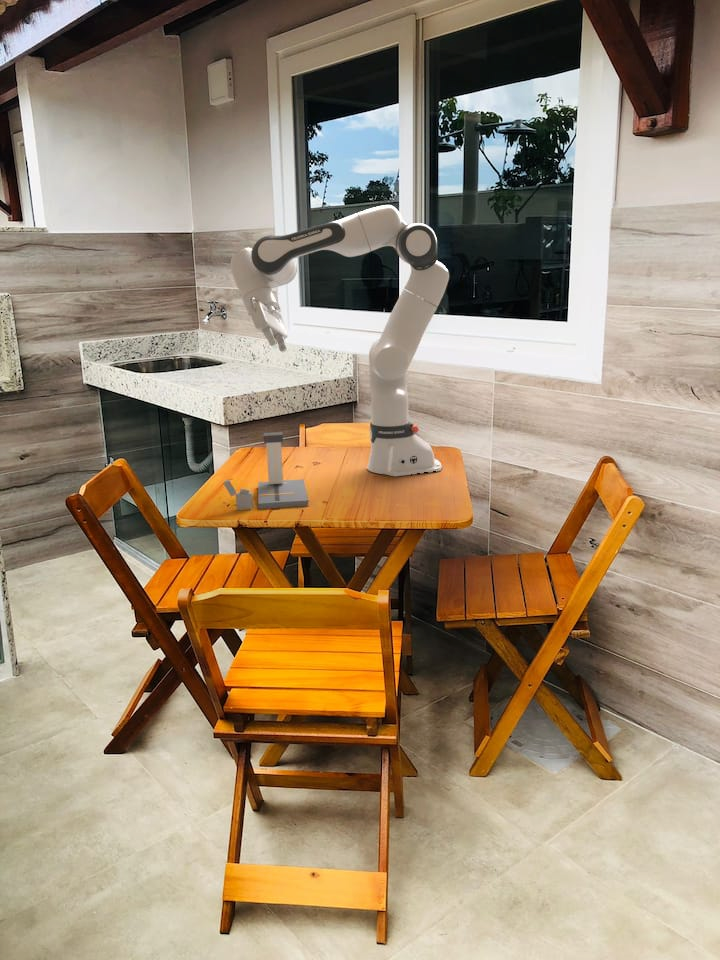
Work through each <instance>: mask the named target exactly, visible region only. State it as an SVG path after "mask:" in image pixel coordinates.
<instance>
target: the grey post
mask: <svg viewBox="0 0 720 960" xmlns="http://www.w3.org/2000/svg"><path fill="white" fill-rule="evenodd" d="M263 443H264V444H265V447H266V458H267V459H266V460H267V474H268V475H267V476H268V481H269V484H281V483H283V481H284V473H283V471H284V470H283V457H282V456H283V455H282V453H283V452H282V443H284V435H283V431H277V432H276V431H273V432H263Z"/></svg>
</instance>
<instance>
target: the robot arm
mask: <svg viewBox="0 0 720 960" xmlns="http://www.w3.org/2000/svg"><path fill="white" fill-rule="evenodd" d="M383 247H392V249H393V250H394V251H395V252H396V254H397V256H398V257H399V258H400V259H401V261H403V262H404V263H407V264H409V265H410V275H409V278H408V281H407V282H406V283H405V286H404V288H403V289H402V291H401V294H400V295H399V296H398V299H397V301H396V303H395V305H394V306H393V309H392V310H391V312H390V315H389V317H388V319H387V321H386V323H385V324H386V325H385V327H384V328H383V331H382V333H381V335H380V338H378V339H376V340H375V341H374V342H373V343H372V345H371V346H370V348H369V353H368V360H369V361H368V362H369V364H368V365H369V367H368V368H369V387H370V412H371V414H370V415H371V419H370V420H371V422H370V424H369V425H370V427H369V440H370V442H371V443H370V444H371V445H370V452H369V453H370V454H369V460H368V463H367V470H368V471H369V472H370V473H375V474H378V475H379V474H380V475H388V476H391V477H401V476H410V475H411V474H412V475H418V474H417V473H420V474H425V473H424V472H428V473H433V471H436V472H440V471H442V469H441V468H443V466H442V463H441V462H440V461H439V460H438V459H436V458H435V455H434V450H433V449H432V446H431V445H430V444H429V443H427V442H426V441H425V440H424V439H423V438H421V437H419V436H418V435H416V433H418V432H419V427H418V425H416V424H414V423H412V422H410V421H409V393H408V379H407V371H408V370H409V369H408V368H409V367H410V365H411V363H412V360H413V359H414V357H415V354H416V352H417V350H418V348H419V345H420V343H421V340H422V338H423V336H424V334H425V331H426V330H427V327H428V326H429V324H430V322H431V320H432V318H433V316H434V315H435V313H436V311H437V309H438V307H439V305H440V304H441V300H442V299H443V297H444V295H445V291H446V290H447V287H448V283H449V280H450V272H449V270H448V268H446V265H444V264H443V263H442V262H440V261H438V239H437V236H436V233H435V231H434V230H433V228H431V227H430V225H429V226H428V225H427V224H425V223H421V222H415V223H411V224H410V223H409V224H408V223H406V222H405V221H404V220H403V218H402V215H401V213H400V212H399V210H398V209H397V208H396V207H395V206H393V205H391V204H385V205H379V206H376V207H375V206H374V207H371V208H368V209H365V210H363V211H359V212H355V213H353V214H351V215H348V216H345V217H343V218H340V219H336V220H334V221H330V222H327V223H322V224H318V225H313V226H311V227H308V228H305V229H301V230H299V231H296V232H295V231H294V232H292V233H289V234H285V235H284V234H283V235H270V234H269V235H265V236H263V237H262V236H261V237H260V239H258V240H257V241H256V242H255V244H254V245H253V246H252V247H244V248H242V249H239V250H238V251H236V252H235V253H234V254H233V255H232V257H231V260H230V271H231V274H232V277H233V279H234V282H235V286H236V287H237V289H238V290H239V291H240V294H241V300H242V303H243V304H244V307H245V310H246V312H247V314H248V316H249V317H251V320H252V322H253V324H254V327H255V328H256V330H258V331H260V332H262V333H263V335H264V336H265V338H266V339H267V341H268V345H269V346H270V347H274V346H277V345H278V348H279V351H280V352H282V353H286V352H287V351H288V348H287V346H286V341H285V339H287V338H288V332H287V329H286V325H285V322H284V319H283V316H282V315H281V312H282V309H281V307H280V304H279V303H278V301H277V299H276V297H275V294H274V292H273V290H272V288H277V287H281V286H285V285H287V284H289V283H291V282H292V281H293V280H294V279H295V277H296V276H297V272H298V266H297V262H296V260H295V259H297V258H300V257H303V256H306V255H309V254H313V253H315V252H318V251H324V250H325V251H331V252H335V253H337V254H339V255H342V257H343V256H344V257H348V258H353V257H357V256H362V255H365V254H368V253H371V252H372V251H373V252H374V251H375V250H378V249H381V248H383Z"/></svg>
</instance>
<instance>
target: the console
mask: <svg viewBox="0 0 720 960" xmlns="http://www.w3.org/2000/svg"><path fill="white" fill-rule="evenodd" d="M257 484H258V485H257V489H258V490H257V492H258V493H257V494H258V495H257V497H258V498H257V499H258V500H257V501H258V502H257V504H258V510H264V509H266V508H267V509H280V508H279V507H283V508H294V507H295V506H298V507H307V506H306V505H308V506H309V499H308V498H309V497H308V494H307V488H306V483H305V479H302V478H301V479H289V480H288V479H286V480H284V479H283V483H281V484H269V480H268V481H258V483H257Z"/></svg>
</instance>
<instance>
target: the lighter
mask: <svg viewBox="0 0 720 960" xmlns="http://www.w3.org/2000/svg"><path fill="white" fill-rule="evenodd" d="M222 483H223V486H224V487H225V489H226V491H227V492H228V494H229V495H230V497H234V496H235V501H236V504H235V505H236V510H237V511H244V510H245V511H246V509H252V510H253V509H254V499H253V491H250V490H249V489H248V488H242V489H239V492H238V491H236V489H235V488H234V486H233V484H232V483H231V481H230V480H229V479H226V480H224V481H223V482H222ZM243 509H244V510H243Z"/></svg>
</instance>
